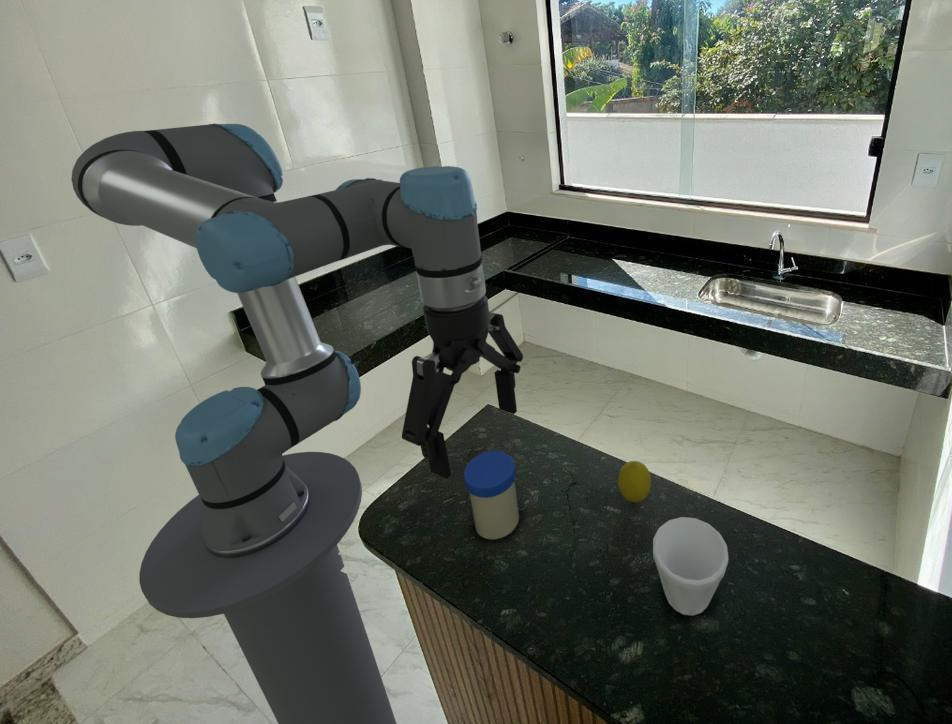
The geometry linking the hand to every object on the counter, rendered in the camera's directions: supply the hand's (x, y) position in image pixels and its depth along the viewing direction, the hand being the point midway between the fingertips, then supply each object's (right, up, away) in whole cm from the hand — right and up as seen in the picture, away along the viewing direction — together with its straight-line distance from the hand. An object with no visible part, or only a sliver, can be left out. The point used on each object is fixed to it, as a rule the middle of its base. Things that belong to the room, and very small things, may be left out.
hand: (477, 439), depth 66 cm
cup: (+29, -23, +2) cm, 37 cm away
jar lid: (-1, -8, +10) cm, 13 cm away
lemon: (+23, -16, +17) cm, 33 cm away
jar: (0, -18, +14) cm, 23 cm away
